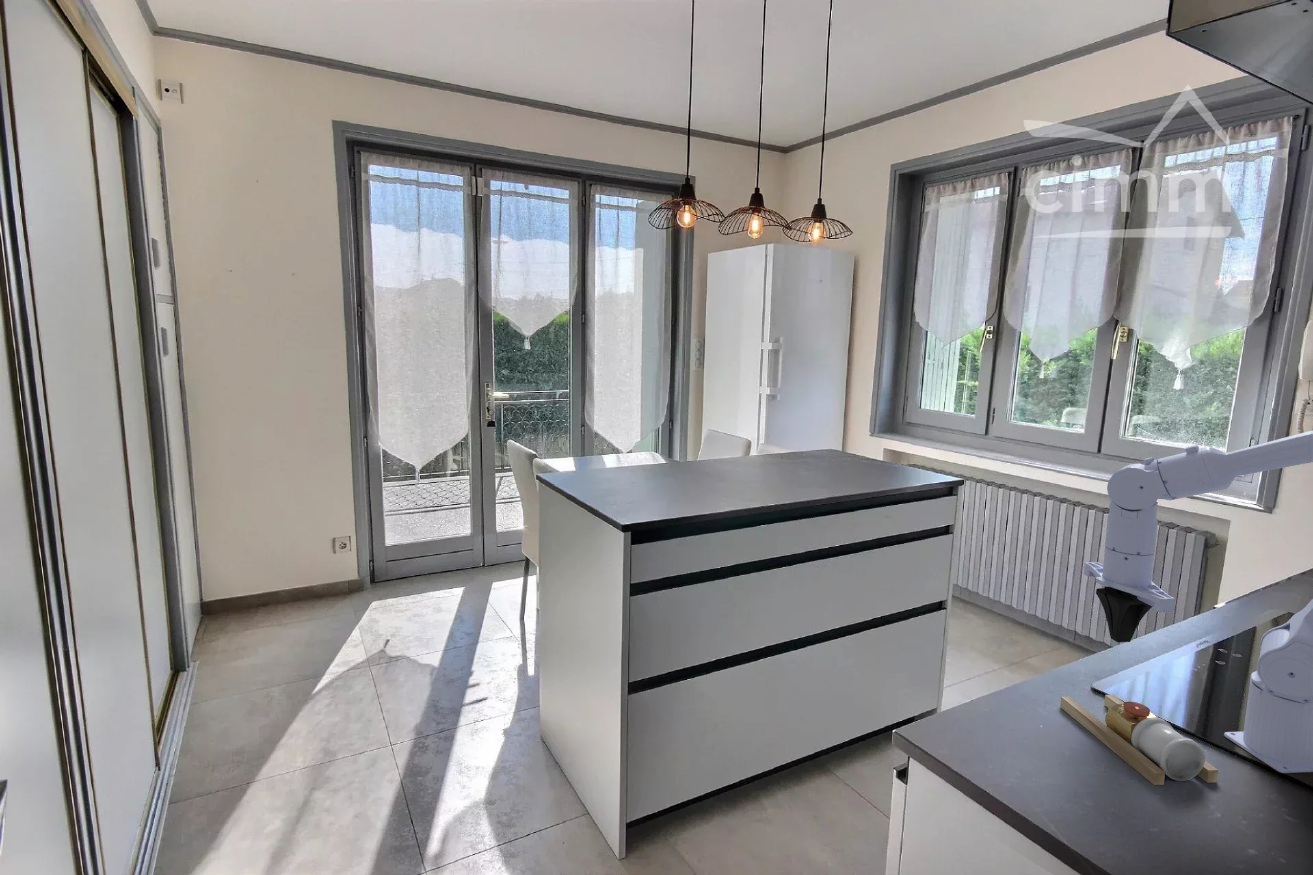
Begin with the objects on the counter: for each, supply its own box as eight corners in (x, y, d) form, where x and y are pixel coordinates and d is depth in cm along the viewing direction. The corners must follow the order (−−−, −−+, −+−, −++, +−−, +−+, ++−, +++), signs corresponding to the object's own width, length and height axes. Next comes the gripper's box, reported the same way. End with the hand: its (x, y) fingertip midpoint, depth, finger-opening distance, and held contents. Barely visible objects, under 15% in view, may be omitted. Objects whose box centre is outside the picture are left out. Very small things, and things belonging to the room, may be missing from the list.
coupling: (1129, 755, 84) (1133, 717, 83) (1168, 754, 84) (1172, 716, 84) (1161, 781, 79) (1165, 741, 78) (1202, 779, 80) (1207, 739, 79)
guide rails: (1112, 704, 96) (1113, 694, 96) (1216, 782, 79) (1218, 769, 79) (1060, 706, 95) (1061, 696, 95) (1154, 785, 79) (1155, 772, 78)
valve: (1102, 731, 89) (1105, 697, 89) (1133, 730, 90) (1137, 695, 89) (1132, 755, 84) (1136, 719, 84) (1165, 754, 84) (1169, 717, 84)
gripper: (1067, 534, 101) (1060, 619, 103) (1142, 567, 86) (1132, 665, 88) (1112, 533, 101) (1104, 618, 103) (1194, 565, 87) (1183, 663, 89)
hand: (1120, 640), depth 96 cm, fingers closed
